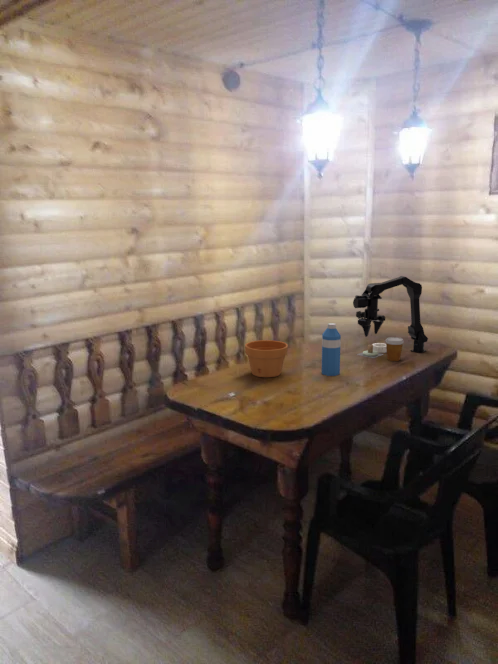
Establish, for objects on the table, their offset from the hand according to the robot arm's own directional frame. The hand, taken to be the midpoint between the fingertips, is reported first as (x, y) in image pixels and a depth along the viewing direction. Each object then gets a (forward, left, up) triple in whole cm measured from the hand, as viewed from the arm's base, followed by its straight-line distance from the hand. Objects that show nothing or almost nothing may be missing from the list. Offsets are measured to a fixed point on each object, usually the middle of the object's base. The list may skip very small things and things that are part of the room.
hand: (371, 335), depth 305 cm
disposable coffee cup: (0, +15, -12) cm, 19 cm away
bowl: (-11, 0, -12) cm, 16 cm away
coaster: (0, 0, -12) cm, 12 cm away
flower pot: (+63, -19, -12) cm, 67 cm away
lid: (0, 0, -11) cm, 11 cm away
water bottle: (+41, +4, -12) cm, 43 cm away
